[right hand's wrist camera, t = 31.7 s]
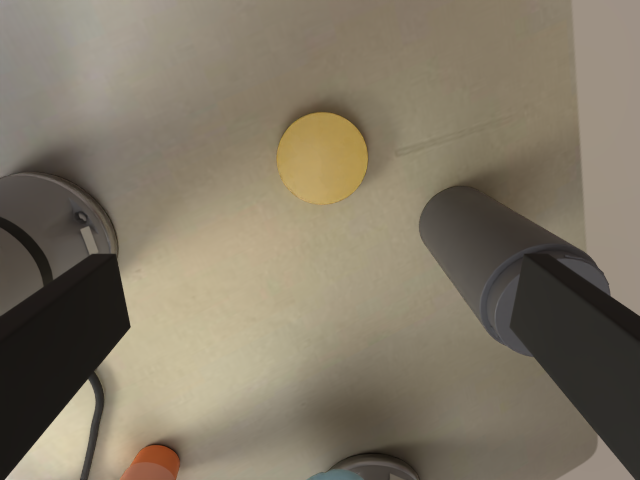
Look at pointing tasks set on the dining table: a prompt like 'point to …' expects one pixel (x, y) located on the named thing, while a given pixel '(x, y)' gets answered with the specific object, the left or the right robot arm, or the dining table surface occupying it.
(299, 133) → the lid
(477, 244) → the jar
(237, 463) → the dining table surface
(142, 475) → the cup with straw
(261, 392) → the dining table surface
